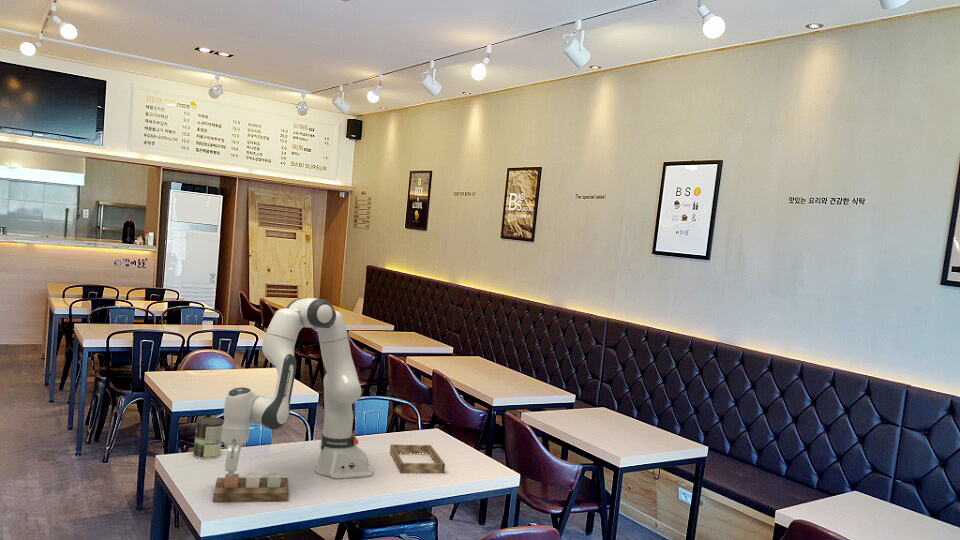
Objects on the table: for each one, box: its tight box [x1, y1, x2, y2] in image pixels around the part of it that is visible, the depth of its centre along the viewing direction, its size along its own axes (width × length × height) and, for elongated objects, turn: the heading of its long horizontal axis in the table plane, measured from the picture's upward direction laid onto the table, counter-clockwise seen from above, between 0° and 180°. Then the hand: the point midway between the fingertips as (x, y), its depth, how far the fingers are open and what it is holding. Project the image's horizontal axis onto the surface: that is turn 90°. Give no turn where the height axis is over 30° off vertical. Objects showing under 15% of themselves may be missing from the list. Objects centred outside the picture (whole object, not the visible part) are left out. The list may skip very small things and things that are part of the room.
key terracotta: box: [224, 473, 240, 488], centre depth 233 cm, size 4×4×4 cm
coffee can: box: [192, 416, 224, 460], centre depth 270 cm, size 10×10×14 cm
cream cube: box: [245, 472, 261, 488], centre depth 236 cm, size 4×4×4 cm
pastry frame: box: [389, 444, 446, 475], centre depth 287 cm, size 18×26×4 cm
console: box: [212, 477, 290, 503], centre depth 236 cm, size 24×15×3 cm, turn 107°
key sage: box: [266, 472, 282, 488], centre depth 238 cm, size 4×4×4 cm
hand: (231, 475), depth 233 cm, fingers closed, pressing on key terracotta
